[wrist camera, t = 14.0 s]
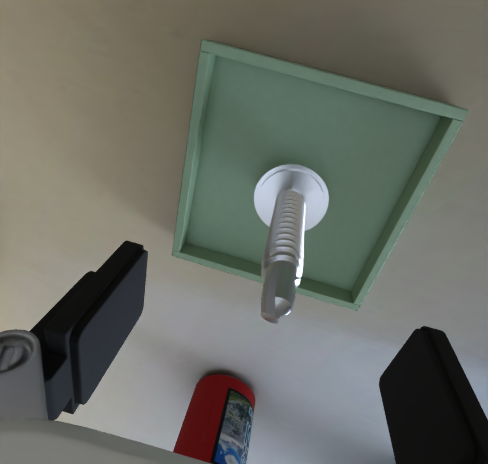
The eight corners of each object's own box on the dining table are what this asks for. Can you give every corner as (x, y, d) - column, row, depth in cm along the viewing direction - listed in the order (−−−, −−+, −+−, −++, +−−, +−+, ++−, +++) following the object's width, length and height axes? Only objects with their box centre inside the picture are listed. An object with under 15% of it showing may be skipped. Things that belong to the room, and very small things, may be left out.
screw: (262, 221, 24) (254, 158, 22) (328, 218, 23) (326, 152, 21) (222, 362, 13) (198, 263, 11) (345, 369, 12) (346, 260, 10)
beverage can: (258, 411, 37) (239, 550, 26) (202, 405, 38) (162, 535, 28) (253, 370, 34) (229, 510, 23) (192, 365, 35) (144, 495, 25)
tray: (211, 40, 20) (201, 38, 18) (453, 104, 19) (470, 110, 17) (181, 241, 28) (171, 256, 26) (354, 292, 27) (357, 311, 25)
